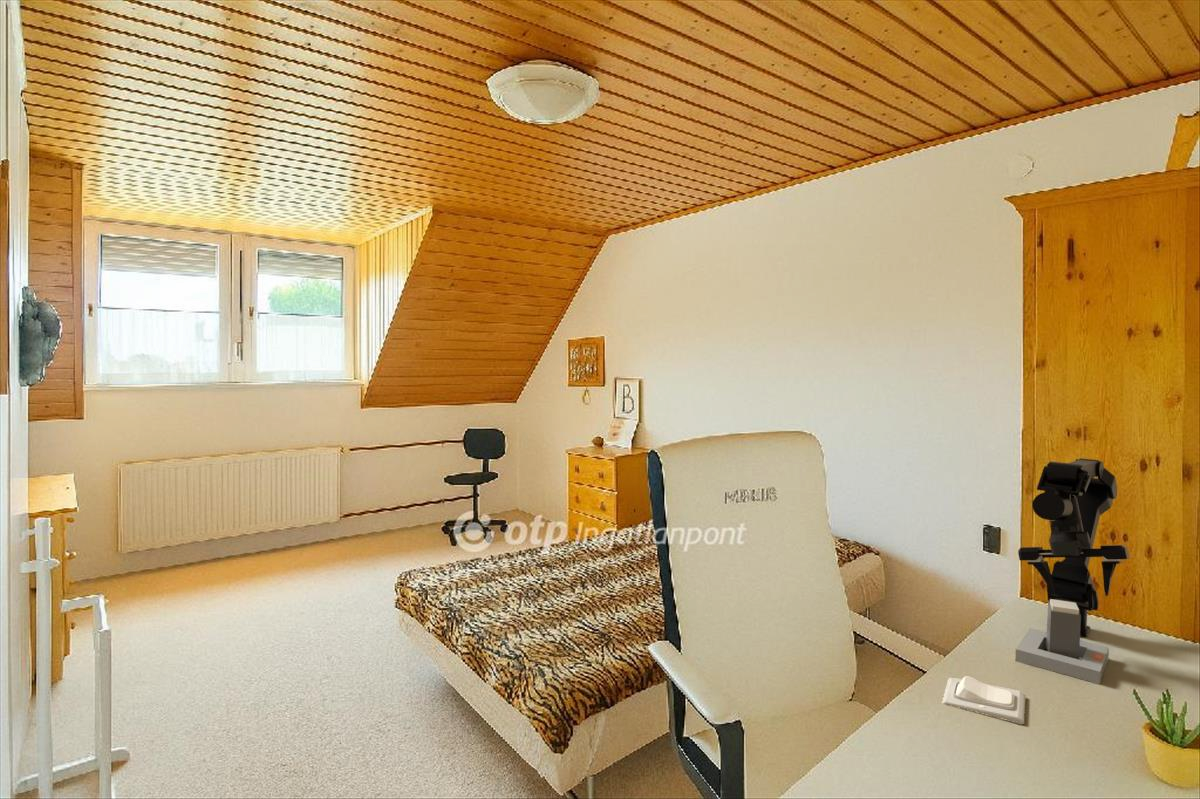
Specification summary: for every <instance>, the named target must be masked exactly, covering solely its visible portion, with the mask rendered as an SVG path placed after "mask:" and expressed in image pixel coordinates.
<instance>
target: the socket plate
mask: <svg viewBox="0 0 1200 799" xmlns="http://www.w3.org/2000/svg"><path fill="white" fill-rule="evenodd" d="M1046 641H1047V631H1044V630H1040V629H1036V628H1032V627H1029V628H1028V630H1027V631H1026V632H1025V635H1024V636H1023V638H1022V639H1021V641H1020V642H1019V643H1018V645H1017V647H1016V648H1015V659H1014V660H1015V662H1019V663H1022V664H1026V665H1030V666H1033V667H1037V668H1040V669H1045V670H1047V671H1050V672H1051V671H1052V672H1053V673H1054V672H1055V673H1057V674H1058V673H1059V674H1062V675H1065V676H1068V677H1072V678H1077V679H1079V680H1084V681H1086V682H1091V683H1095V684H1098V685H1101V681H1102V678H1103V677H1104V676H1103V675H1104V673H1105V670H1106V667H1107V664H1108V661H1109V656H1110V647H1109V646H1106V645H1105V646H1104V645H1101V644H1097V643H1092V642H1088V641H1084V640H1081V639H1080V650H1079V660H1078V659H1075V658H1071V657H1067V656H1063V655H1059V654H1056V653H1052V652H1048V651H1046V650H1044V649H1046ZM1081 659H1082V660H1081Z"/></svg>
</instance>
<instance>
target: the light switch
mask: <svg viewBox="0 0 1200 799" xmlns="http://www.w3.org/2000/svg"><path fill="white" fill-rule="evenodd" d="M944 692H945V693H943V696H944V697H942V700H943V701H941V704H943V703H944V704H943V705H946V704H947V705H946V706H949V705H952V706H951V707H953V706H955V707H954V708H957V707H960V708H959V709H961V708H964V709H968V710H973V711H977V712H979V713H984V714H988V715H991V716H995V717H998V718H1003V719H1007V720H1010V721H1014V722H1016V723H1015V724H1017V723H1020V724H1019V725H1022V724H1024V725H1025V715H1026V714H1025V712H1026V711H1025V710H1026V694H1025V693H1024V692H1023V691H1021V690H1017V689H1013V688H1009V687H1003V686H997V685H992V684H987V683H983V682H981V681H979V680H977V679H975V678H973V677H971V676H968V675H965V676H963V678H956V677H949V678H948V679H947V683H946V685H945V690H944ZM964 709H963V710H964ZM968 710H967V711H968ZM979 713H978V714H979ZM1024 714H1025V715H1024ZM998 718H997V719H998Z"/></svg>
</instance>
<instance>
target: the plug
mask: <svg viewBox="0 0 1200 799" xmlns="http://www.w3.org/2000/svg"><path fill="white" fill-rule="evenodd" d="M1046 617H1047V618H1046V619H1047V620H1046V622H1047V623H1046V632H1047V641H1046V648H1045V651H1048V652H1052V653H1056V654H1059V655H1063V656H1067V657H1071V658H1075V659H1078V660H1080V657H1079V650H1080V640H1081V636H1080V627H1081V615H1080V613H1079V609H1078V607H1077V605H1076V603H1075V602H1068V601H1061V600H1054V599H1050V601H1049V602H1047V616H1046Z"/></svg>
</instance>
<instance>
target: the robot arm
mask: <svg viewBox="0 0 1200 799" xmlns="http://www.w3.org/2000/svg"><path fill="white" fill-rule="evenodd" d="M1040 474H1041V475H1040V476H1039V477H1040V478H1039V481H1038V484H1037V486H1036V490H1037V491H1041V493H1038V494H1037V495H1036V496H1035V497H1034V498H1033V500H1032V504H1031V507H1032V510H1033V512H1034V513H1035V515H1036V516H1037V517H1039V518H1041V519H1043V520H1047V521H1049V527H1050V536H1049V539H1048V542H1049V546H1050V549H1044V548H1043V546H1026V547H1025V546H1023V547H1020V548H1019V549H1018V552H1017V554H1018V559H1019V561H1026V564H1027V565H1032V566H1033V567H1034V568H1035V569H1036V570H1037V572H1039V575H1040V576H1041V577H1042V579H1043V581H1044V582H1045V584H1046V591H1047V592H1046V594H1047V601H1048V602H1050V599H1054V600H1061V601H1068V602H1075V603H1076V605H1077V607H1078V609H1079V613H1080V615H1081V627H1080V637H1082V638H1083V637H1084V638H1087V637H1088V634H1089V632H1090V630H1091V626H1089V625H1087V624H1088V611H1089V612H1093V611H1098V610H1099V596H1098V592H1097V589H1096V586H1095V585H1094V581H1093V578H1092V576H1091V572H1090V571H1089V564H1090V560H1091V558H1102V559H1103V560H1102V561H1101V567H1102V578H1103V579H1102V580H1103V589H1104V590H1103V591H1104V594H1105V595H1104V596H1105V597H1108V596H1109V595H1110V588H1111V584H1112V579H1113V575H1114V572H1115V569H1116V567H1117V565H1121V564H1123V560H1129V559H1130V555H1129V554H1130V553H1129V550H1128V547H1127V546H1125V545H1124V544H1114V545H1113V544H1108V545H1107V544H1105V545H1103V544H1102V545H1100V548H1097V547H1096V548H1094V542H1095V539H1096V534H1097V530H1098V526H1099V522H1100V517H1101V515H1103V514H1104V513H1105V512H1107V511H1109V510H1110V509H1111V507H1112V504H1113V500H1116V499H1117V496H1118V485H1117V480H1116V476H1115V475H1114V474H1112V473H1111V472H1110V471H1109V470H1107V469H1106V468H1105V466H1104V462H1103V461H1101V460H1099V459H1091V458H1090V459H1089V458H1076V459H1075V460H1074V461H1071V462H1058V461H1049V462H1048V463H1047V465H1044V467H1043V469H1042V472H1041V473H1040ZM1043 491H1044V492H1043ZM1046 558H1047V559H1049V558H1057V559H1058V558H1064V559H1062V560H1061V561H1059V560H1056V561H1055V562H1054V564H1053V568H1052V572H1051V570H1050V566H1049V562H1048V561H1047V560H1045V559H1046Z"/></svg>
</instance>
